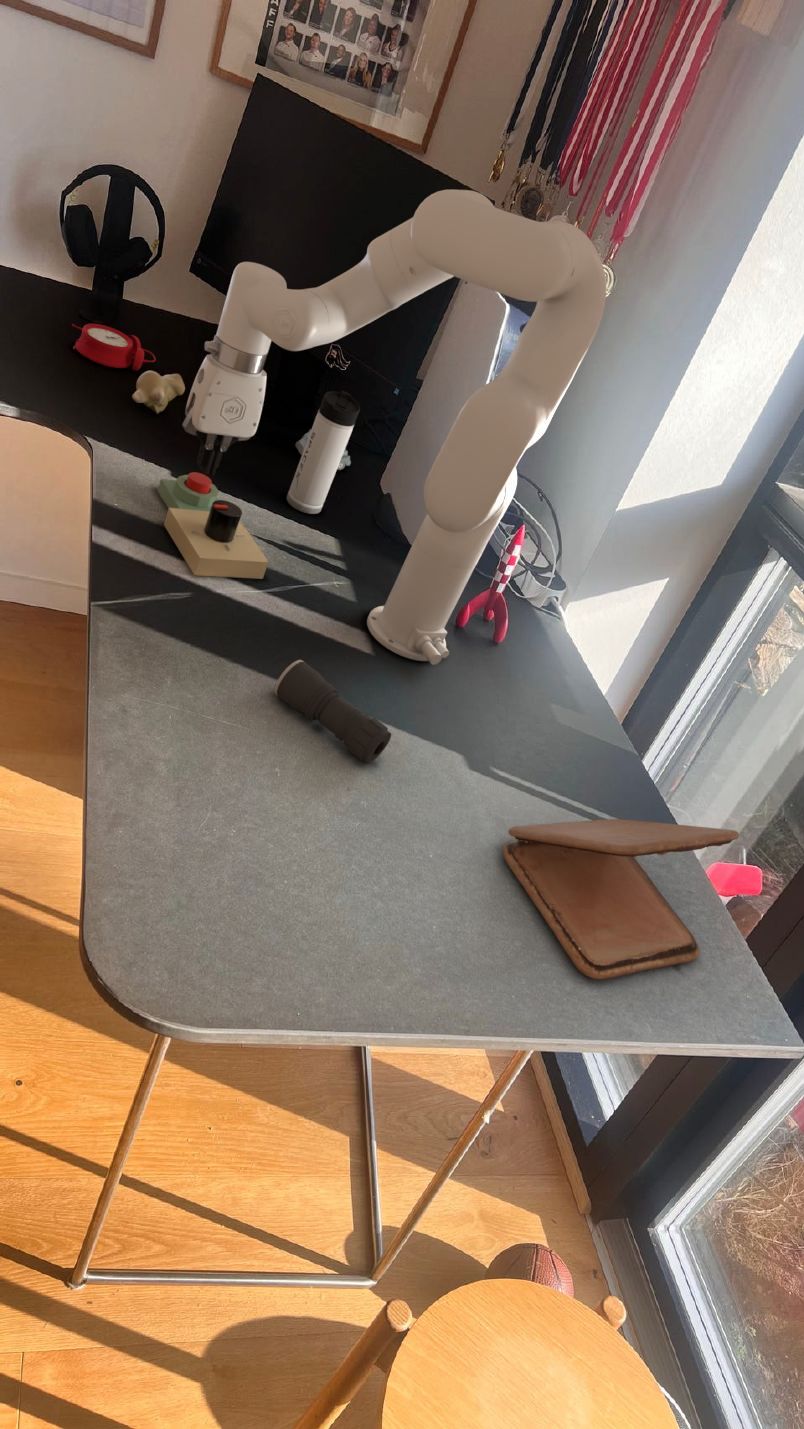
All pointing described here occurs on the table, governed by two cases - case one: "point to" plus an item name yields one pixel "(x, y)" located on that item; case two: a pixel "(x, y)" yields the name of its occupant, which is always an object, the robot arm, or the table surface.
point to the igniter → (185, 495)
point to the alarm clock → (110, 347)
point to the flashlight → (332, 711)
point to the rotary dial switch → (214, 547)
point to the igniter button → (198, 482)
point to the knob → (222, 521)
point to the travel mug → (323, 451)
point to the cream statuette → (157, 389)
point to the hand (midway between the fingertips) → (205, 470)
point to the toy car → (302, 443)
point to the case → (607, 890)
